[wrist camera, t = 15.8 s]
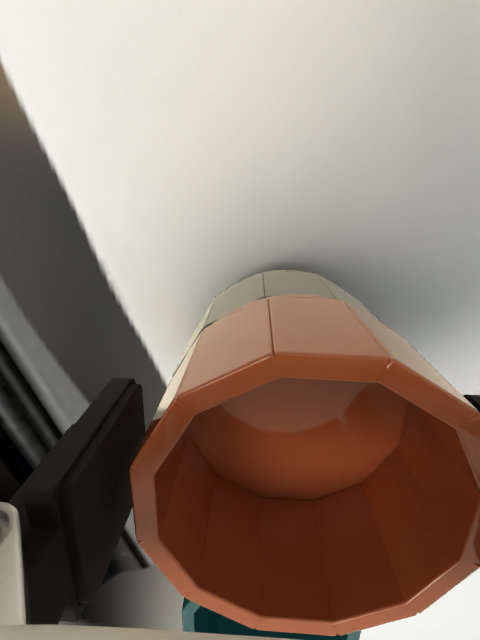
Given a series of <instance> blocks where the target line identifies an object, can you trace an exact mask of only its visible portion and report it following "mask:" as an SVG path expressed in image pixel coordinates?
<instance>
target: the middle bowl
mask: <svg viewBox="0 0 480 640" xmlns="http://www.w3.org/2000/svg"><path fill="white" fill-rule="evenodd" d="M129 474H130V484H131V494H132V504H133V513H134V523H135V533H136V540H137V541H138V544H139V546H140V547H141V548H142V549H143V550H144V551H145V553H146V554H147V555H148V556H149V557H150V559H151V560H152V561H153V562H154V563H155V564H156V566H157V567H158V568H159V569H160V570H161V572H162V573H163V574H164V575H165V576H166V577H167V579H168V580H169V581H170V582H171V583H172V584H173V586H174V587H175V588H176V589H177V590H178V592H179V593H180V594H181V595H182V596H185V598H186V599H188V600H190V601H192V602H194V603H196V604H199V605H201V606H203V607H205V608H207V609H210V610H212V611H214V612H216V613H218V614H221V615H223V616H225V617H227V618H229V619H232V620H234V621H236V622H238V623H241V624H243V625H245V626H247V627H249V628H252V629H255V628H256V630H261V631H274V632H287V633H300V634H313V635H327V636H336V635H337V634H338V635H344V634H348V633H352V632H355V631H359V630H363V629H367V628H370V627H374V626H378V625H382V624H385V623H389V622H393V621H397V620H400V619H404V618H408V617H412V616H415V615H417V613H421V612H423V611H424V610H425V609H426V608H428V607H429V606H430V605H432V604H433V603H434V602H436V601H437V600H438V599H439V598H441V597H442V596H443V595H445V594H446V593H447V592H448V591H450V590H451V589H452V588H454V587H455V586H456V585H458V584H459V583H460V582H461V581H463V580H464V579H465V578H467V577H468V576H469V575H470V574H472V573H473V572H474V571H476V570H477V569H478V568H480V413H479V412H478V411H477V409H476V408H475V407H474V406H473V405H472V404H471V403H470V402H469V401H468V400H467V399H466V398H465V397H463V396H462V395H461V394H460V393H459V392H458V391H457V390H456V389H455V388H454V387H453V386H452V385H451V384H450V383H449V382H448V381H447V380H446V379H445V378H444V377H443V376H442V375H441V374H440V373H439V372H438V371H437V370H436V369H435V368H434V367H433V366H432V365H431V364H430V363H429V362H427V361H426V360H425V359H424V358H423V357H422V356H421V355H420V354H419V353H418V352H417V351H416V350H415V349H414V348H413V347H412V346H411V345H410V344H409V343H408V342H407V341H406V340H405V339H404V338H403V337H402V336H400V335H399V334H397V333H396V332H394V331H392V330H391V329H389V328H388V327H386V326H385V325H384V324H382V323H381V322H380V321H378V320H377V319H376V318H374V317H373V316H372V315H370V314H369V313H367V312H365V311H363V310H361V309H360V308H358V307H356V306H354V305H352V304H350V303H348V302H347V301H343V300H338V299H333V298H329V297H325V296H319V295H309V294H285V295H278V296H271V297H266V298H263V299H259V300H256V301H252V302H250V303H247V304H245V305H243V306H240V307H238V308H235V309H234V310H232V311H230V312H229V313H227V314H225V315H224V316H222V317H220V318H219V319H218V320H217V321H215V322H214V323H213V324H211V325H210V326H208V327H206V328H205V329H204V330H203V331H201V333H200V335H199V336H198V338H197V339H196V341H195V342H194V344H193V345H192V346H191V348H190V349H189V350H188V352H187V354H186V356H185V358H184V360H183V362H182V363H181V365H180V367H179V368H178V370H177V371H176V373H175V375H174V376H173V378H172V379H171V381H170V383H169V385H168V388H167V390H166V392H165V394H164V396H163V398H162V400H161V402H160V405H159V407H158V409H157V411H156V413H155V415H154V417H153V419H152V421H151V423H150V426H149V428H148V430H147V432H146V434H145V436H144V438H143V440H142V442H141V444H140V447H139V449H138V451H137V453H136V455H135V457H134V459H133V461H132V463H131V467H130V471H129Z"/></svg>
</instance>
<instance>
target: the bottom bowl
mask: <svg viewBox="0 0 480 640" xmlns="http://www.w3.org/2000/svg"><path fill="white" fill-rule="evenodd" d="M285 294H309V295H319V296H325V297H329V298H333V299H338V300H343V301H347V302H348V303H350V304H352V305H354V306H356V307H358V308H360V309H361V310H363V311H365V312H367V313H369V314H370V315H372V316H373V317H374V318H376V317H375V316H374V315H373V314H372V313H371V312H370V311H369V310H368V309H367V308H366V307H365V306H364V305H363V304H362V303H361V302H360V301H359V300H358V299H357V298H355V297H353V296H352V295H350V294H349V293H347V292H346V291H345V290H343V289H342V288H341V287H339V286H338V285H336V284H335V283H333V282H331V281H329V280H327V279H326V278H324V277H322V276H321V275H319V274H316V273H308V272H303V271H296V270H273V271H264V272H260V273H258V274H255V275H252V276H249V277H247V278H245V279H242V280H240V281H238V282H237V283H235V284H233V285H232V286H230V287H229V288H227V289H226V290H225V291H223V292H221V293H219V294H218V295H217V296H216V297H215V298H214V300H213V301H212V303H211V305H210V306H209V308H208V309H207V311H206V312H205V314H204V316H203V318H202V319H201V321H200V323H199V324H198V326H197V327H196V329H195V331H194V332H193V334H192V336H191V338H190V340H189V342H188V344H187V347H186V349H185V351H184V353H183V355H182V357H181V359H180V361H179V363H178V365H177V368H176V370H175V372H174V374H173V376H174V375H175V373H176V371H177V370H178V368H179V367H180V365H181V363H182V362H183V360H184V358H185V356H186V354H187V352H188V350H189V349H190V348H191V346H192V345H193V344H194V342H195V341H196V339H197V338H198V336H199V335H200V333H201V331H203V330H204V329H205V328H206V327H208V326H210V325H211V324H213V323H214V322H215V321H217V320H218V319H219V318H220V317H222V316H224V315H225V314H227V313H229V312H230V311H232V310H234V309H235V308H238V307H240V306H243V305H245V304H247V303H250V302H252V301H256V300H259V299H263V298H266V297H271V296H278V295H285ZM376 319H377V318H376ZM377 320H378V319H377ZM378 321H379V320H378Z"/></svg>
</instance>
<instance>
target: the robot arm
mask: <svg viewBox="0 0 480 640" xmlns="http://www.w3.org/2000/svg"><path fill="white" fill-rule="evenodd" d="M463 397H465V398H466V399H467V400H468V401H469V402H470V403H471V404H472V405H473V406H474V407H475V408H476V409H477V411H478V412H479V413H480V395H464V396H463ZM144 436H145V423H144V410H143V397H142V387H141V385H140V384H136V382H135V380H134V379H128V378H112V379H111V380H110V381H109V383H108V384H107V385H106V386H105V388H104V389H103V390H102V391H101V392H100V394H99V395H98V396H97V397H96V399H95V400H94V401H93V402H92V404H91V405H90V406H89V407H88V409H87V410H86V411H85V412H84V414H83V415H82V416H81V417H80V419H79V420H78V421H77V422H76V423H75V424H73V425H72V426H71V427H70V428H69V429H68V430H67V431H66V432H65V434H64V435H63V436H62V437H61V438H60V440H59V441H58V442H57V443H56V445H55V446H54V447H53V448H52V449H51V451H50V452H49V453H48V454H47V456H46V457H45V458H44V459H43V460H42V462H41V463H40V464H39V465H38V467H37V468H36V469H35V470H34V471H33V473H32V474H31V475H30V476H29V478H28V479H27V480H26V481H25V482H24V484H23V485H22V486H21V487H20V489H19V490H18V491H17V492H16V493H15V495H14V496H13V497H12V498H11V500H10V501H9V502H8V503H5V502H1V501H0V640H301V639H287V638H272V637H257V636H243V635H228V634H213V633H198V632H184V631H169V630H154V629H153V630H152V629H138V628H137V629H136V628H116V627H94V626H93V627H92V626H74V625H73V626H72V625H58V623H59V621H68V622H78V620H79V618H80V616H81V613H82V611H83V609H84V606H85V604H86V603H88V604H91V603H92V602H93V601H94V600H95V597H96V595H97V593H98V591H99V588H100V586H101V583H102V581H103V578H104V576H105V573H106V571H107V568H108V566H109V564H110V561H111V559H112V556H113V554H114V551H115V549H116V546H117V544H118V541H119V539H120V536H121V534H122V531H123V529H124V526H125V524H126V521H127V519H128V517H129V514H130V512H131V509H132V507H133V504H132V494H131V484H130V474H129V471H130V467H131V463H132V461H133V459H134V457H135V455H136V453H137V451H138V449H139V447H140V444H141V442H142V440H143V438H144Z"/></svg>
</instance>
